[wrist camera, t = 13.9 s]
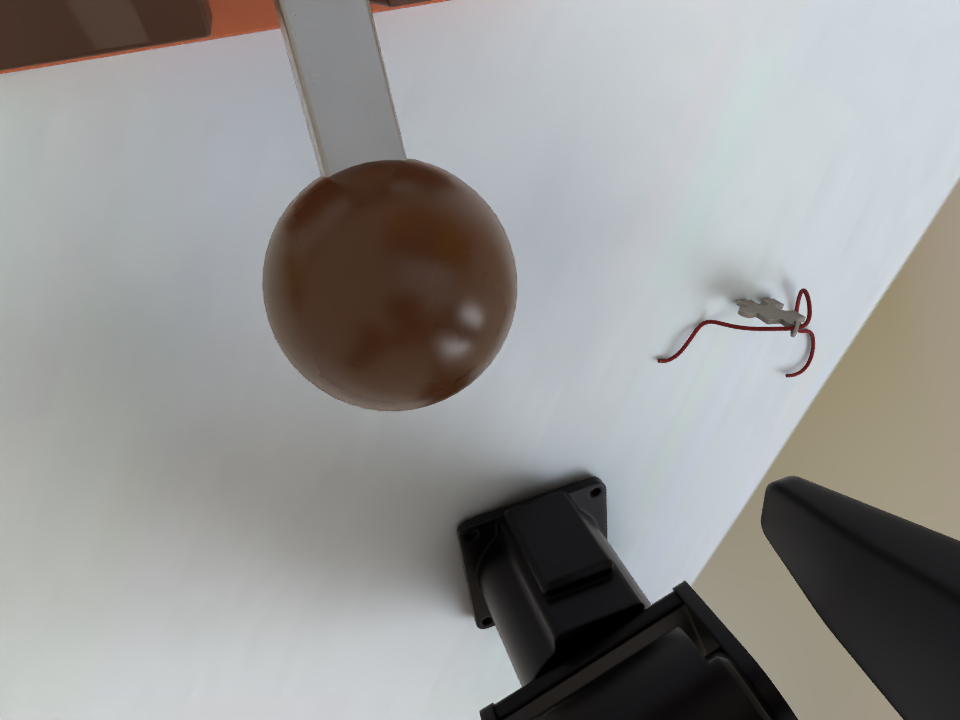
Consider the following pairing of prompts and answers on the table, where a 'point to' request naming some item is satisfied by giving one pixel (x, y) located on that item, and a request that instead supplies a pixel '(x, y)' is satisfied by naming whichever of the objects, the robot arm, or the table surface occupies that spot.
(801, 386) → the table surface
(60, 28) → the brown block
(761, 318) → the pendant
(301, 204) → the lever
